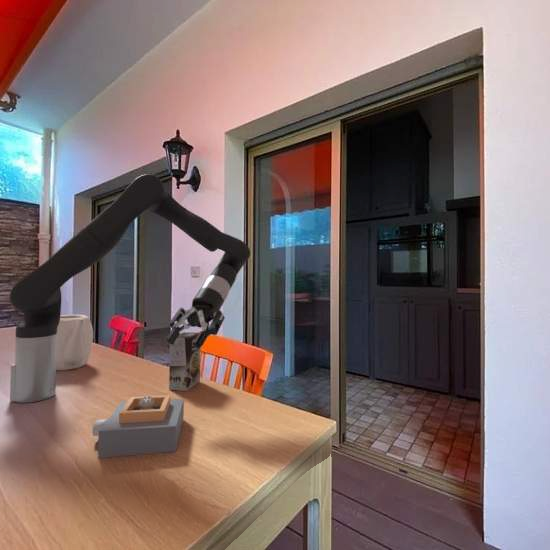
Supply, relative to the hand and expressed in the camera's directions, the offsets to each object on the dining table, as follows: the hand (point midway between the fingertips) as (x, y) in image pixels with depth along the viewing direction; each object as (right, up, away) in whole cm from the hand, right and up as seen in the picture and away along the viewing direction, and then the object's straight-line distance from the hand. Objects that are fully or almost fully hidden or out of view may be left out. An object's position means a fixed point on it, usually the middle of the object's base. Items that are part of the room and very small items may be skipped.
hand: (182, 344), depth 77 cm
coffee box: (-6, -18, +22) cm, 29 cm away
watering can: (-53, -17, +39) cm, 68 cm away
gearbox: (-6, -17, -10) cm, 21 cm away
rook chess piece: (-5, -18, -9) cm, 21 cm away
